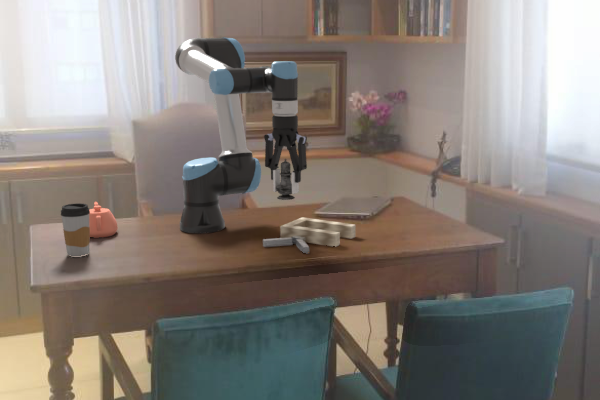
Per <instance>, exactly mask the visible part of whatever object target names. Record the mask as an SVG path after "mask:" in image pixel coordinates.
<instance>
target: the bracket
mask: <svg viewBox="0 0 600 400" xmlns="http://www.w3.org/2000/svg"><path fill="white" fill-rule="evenodd" d="M279 227H280V238H288V237H293V236H300V237H305V240H306V244H307V243H309V244H314V245H315V244H316V245H320V246H326V245H327V247H333V246H335V247H334V248H336V247H338V246H340V244H341V243H340V241H341V238H344V239H354V238H356V224H355V223H354V224H353V223H347V222H340V221H332V220H325V219H318V218H311V217H310V218H309V217H302V216H301V217H300V218H297V219H294V220H293V221H290V222H287V223H285V224H282V225H280V226H279Z"/></svg>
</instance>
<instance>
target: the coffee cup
mask: <svg viewBox="0 0 600 400" xmlns="http://www.w3.org/2000/svg"><path fill="white" fill-rule="evenodd" d="M89 209H90V208H89V205H88V204H86V203H80V202H79V203H78V202H77V203H69V204H64V205H63V206H62V207H61V210H60V216H61V222H62V228H63V229H62V230H63V231H62V232H63V235H64V236H63V237H64V243H65V248H66V254H67V255H71V256H81V255H85V254H88V253H90V243H91V242H90V239H91V238H90V227H89V213H90V211H89ZM88 255H89V254H88Z"/></svg>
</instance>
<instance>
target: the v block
mask: <svg viewBox="0 0 600 400" xmlns="http://www.w3.org/2000/svg"><path fill="white" fill-rule="evenodd" d="M293 244H294V245H296V247H297V249H298V250H299V251H300V252H301V251H302V252H303V253H306V254H309V253H310V245H308V244H307V242H306V240H305V237H300V236H293V237H288V238H281V237H279V238H277V237H275V238H266V239H265V238H263V239H262V247H264V248H270V247H271V248H273V247H280V246H281V247H283V246H293ZM302 252H301V253H302ZM308 252H309V253H308ZM303 253H302V254H303Z"/></svg>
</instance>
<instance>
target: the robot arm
mask: <svg viewBox="0 0 600 400" xmlns="http://www.w3.org/2000/svg"><path fill="white" fill-rule="evenodd" d="M174 59H175V63H176V66H177V67H178V68H179V70H180V71H182V72H184V73H185V74H187V75H191V76H196V77H198V78H200V79H201V80H202V81H205V82H206V83H208V84H209V88H210V91H211V93H213V97H214V102H215V103H214V104H215V110H216V118H217V125H218V130H219V137H220V145H221V146H220V147H221V153H220V154H219V155H218V158H216V157H200V158H195V159H192V160H188V161H187V162H186V163H184V164H183V167H182V176H181V178H182V181H183V182H182V185H183V186H182V187H183V209H182V213H181V217H180V221H179V229H180V231H181V232H184V233H188V234H210V233H216V232H220V231H222V230H224V229H225V228H226V224H225V222H226V221H225V219H224V217H223V213H222V210H221V207H220V200H219V199H220V197H221V196H222V197H223V196H230V195H232V196H233V195H238V194H239V195H241V194H242V195H243V194H247V193H253V192H255V191H257V189H258V187H259V186H260V182H261V179H262V166H261V163H260V161H259V159H258V158H256V157H253V152H252V151H251V150H250V149H249V148H248V145H247V141H246V140H247V139H246V132H245V125H244V120H243V119H244V117H243V111H242V106H241V105H242V104H241V98H240V95H241V94H259V93H262V94H263V93H271V105H272V107H271V108H272V109H271V110H272V111H271V113H272V114H273V115H272V117H271V119H272V120H271V121H272V125H271V126H272V132H271V133H267V134H264V135H263V138H264V142H265V149H264V150H265V153H264V166H265V168H269V169H270V179H271V181H273V182H272V183H273V184H272V186H273V187H272V191H273V192H275V193H276V192H278V191H277V188H276V186H277V185H279V184H280V182H281V175H280V173H281V168H280V166H279V163H280V159H281V156H282V151H283V148H284V147H285V148H286V149H287V151H288V153H289V157H290V160H291V164H292V169H293V170H292V171H291V173H292V174H291V183H292V194H291V195H295V194H298V193H300V191H299V190H300V189H299V186H300V185H299V183H301V181H302V176H301V175H302V171H305V170H307V168H308V163H307V147H306V144H307V140H308V137H307V136H306V135H304V136H303V135H301V134H299V131H298V127H299V120H298V118H299V117H298V115H297V114H298V113H299V111H298V110H299V107H298V106H299V104H298V103H299V102H298V97H299V96H298V95H299V93H298V86H299V85H298V80H299V79H298V78H299V74H298V64H297V62H296V61H294V60H293V61H292V60H291V61H290V60H289V61H288V60H283V61H281V60H280V61H276V60H275V61H273V62H272V63H271V66H258V67H245V65H246V63H245V62H246V57H245V52H244V48H243V46H242V44H241V43H240V41H239V40H237V39H235V38H232V37H201V38H200V37H195V38H194V37H193V38H189V39H188V40H185V41H183V42H182V43H181V44H180V45H179V46H178V48H177V49H176V51H175V56H174ZM274 141H275V142H274ZM296 142H297V143H296Z"/></svg>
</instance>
